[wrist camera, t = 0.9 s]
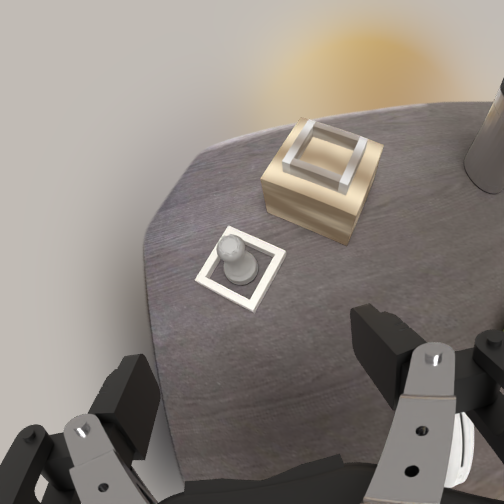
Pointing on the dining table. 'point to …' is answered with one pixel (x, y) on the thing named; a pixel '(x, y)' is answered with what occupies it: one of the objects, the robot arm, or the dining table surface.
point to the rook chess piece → (237, 260)
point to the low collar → (265, 282)
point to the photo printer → (460, 451)
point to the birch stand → (321, 179)
